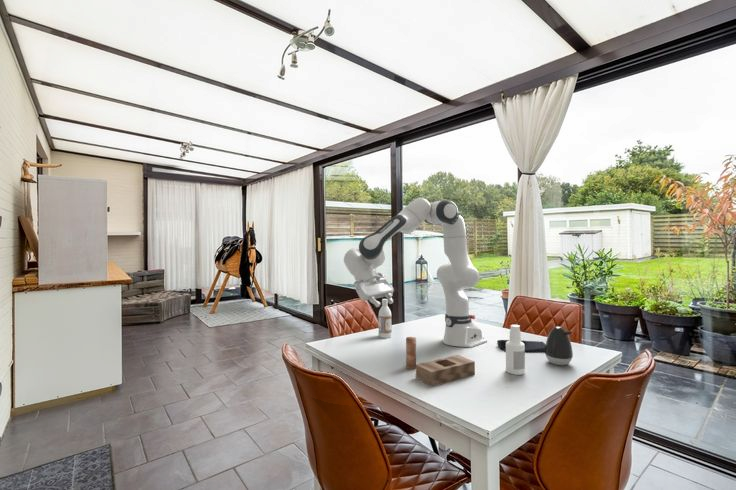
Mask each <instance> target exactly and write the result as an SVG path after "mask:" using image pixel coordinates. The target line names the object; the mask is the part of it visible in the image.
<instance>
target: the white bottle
mask: <svg viewBox="0 0 736 490" xmlns="http://www.w3.org/2000/svg"><path fill="white" fill-rule="evenodd" d="M509 326H510V330H509V339H508V340H509V341H507V342H506V352H505V371H506V372H507V373H508V374H510V375H516V376H517V375H518V376H522V375H524V374H525V372H526V371H525V370H526V364H525V363H526V352H525V344H524V343H523V342H521V341H522V338H521V336H522V335H521V325H519V324H511V325H509Z"/></svg>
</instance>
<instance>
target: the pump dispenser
mask: <svg viewBox="0 0 736 490" xmlns="http://www.w3.org/2000/svg"><path fill="white" fill-rule="evenodd" d="M572 334H573V332H572V331H571V330H567V331H566V330H565V328H563V326H554V327H553V328H552V329H551V330H550V331H549V333H548V334H547V338H546V340H545V344H546V345H545V351H544V354H545V357H546V359H547V361H548V362H549V363H551V364H553V365H554V366H561V367H562V366H566V365H568V364H570V363H571V361H572V358H573V356H574V353H573V347H572V346H573V345H572V341H571V339H570V337H569V335H572Z"/></svg>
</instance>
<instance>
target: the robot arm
mask: <svg viewBox="0 0 736 490" xmlns="http://www.w3.org/2000/svg"><path fill="white" fill-rule="evenodd" d="M464 220H465V219H464V217H463V216H461V215H460V213H459V208H458V206H457V204H456V203H455V202H454V201H452V200H448V199H443V200H437V201H433V202H431V203H430V202H429V200H428V199H426V198H425V197H417V198H415V199H413V200H412V201H410V203H408V204H407V205H406V206H404V207H403V208H402V210H401V211H400V212H399V213H398V214H396V215H394V216H393V217H391V218H390V219H389V220H387V221H386V222H385V223H384V224H383V225H382V226H381V227H379V228H378V229H377V230H376V231H374V232H373V233H371V234H368V235H365V236H364V237H363V238H362V239H361V240H360V241H359V245H358V248H350V249H349V250H348V251H347V252H346V253H345V254H344V256H343V263H344V265H345V267H346V269H347V270H348V271H349V273H350V274H351V275H352V276H353V278H354V283H353V287H354V288H355V292H356V293H357V295H358V297H359V299H360V300H362V301H363V302H366V301H369V302H370V303H371V304H373V305H374V306H375V308H379V307H380V306H382V303H381V302H380V301H379V300H377V299H379V298H380V299H381V298H384V297H385V299H387V300H388V304H389V305H391V304H393V303H394V299H393V297H392V294H394V290H395V289H394V287H393V286H392V284H391V283H390V281H389V280H388V279H386V278H385V275H384V273H381V272H378V271H376V270H375V269H377V268H379V267H380V266H382V265H383V264H384V262H385V258H386V257H385V251H384V246H385V244H386V242H387V241H389V240H390V239H391V238H392V237H393V236H394V235H395V234H397V233H402V234H406V235H409V234H411V233H413V232H415V231H416V230H417V229H418V228H419V227H420V226H421V225H422V224H423V222H425V223H426V224H428V225H441V227H442V231H443V233H442V234H443V236H442V237H443V251H444V254H445V255H446V257H447V258H448V260H449V262H450V263H445V264H442V265H441V266H439V267H438V268H437V270H436V278H437V279H438V281H439V282H440V284H441V287H442V289H443V293H444V297H445V314H444V321H445V327H444V333H443V339H442V343H444V344H445V345H448V346H452V347H463V348H464V347H465V348H473V347H476V346H477V347H478V346H479V345H482V344H485V343H487V342H488V339H487V338H485V337H483V332H482V329H481V328H480V327H479V326H478V325H476V324H475V323H474V322H473V321H472V320H475V319H476V315H474V314H470V310H469V309H470V306H469V305H470V303H469V301H470V300H469V297H468V296H467V295H466V293H465V292H464V289H470V288H474V287H476V286H477V285H478V284H479V282H480V272H479V270H478V269H477V268H476V267H475V266H474V265H473V263H472V260H471V259H470V255H469V251H468V241H467V229H466V224H465V221H464Z"/></svg>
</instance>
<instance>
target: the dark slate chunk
mask: <svg viewBox="0 0 736 490" xmlns="http://www.w3.org/2000/svg"><path fill="white" fill-rule="evenodd" d="M509 340H510V339H499V340H497V341H496V342H497V343H496V345H497V346H498V348H499V349H500V350H501V351H503V352H505V353H506V342H507V341H509ZM521 342H523V343H524V344H525V353H528V352H529V353H531V352H532V353H535V352H536V353H537V351H538V353H540V351H541V352H545V345H546V342H544V341H538V340H537V341H535V340H533V341H532V340H521Z"/></svg>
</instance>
